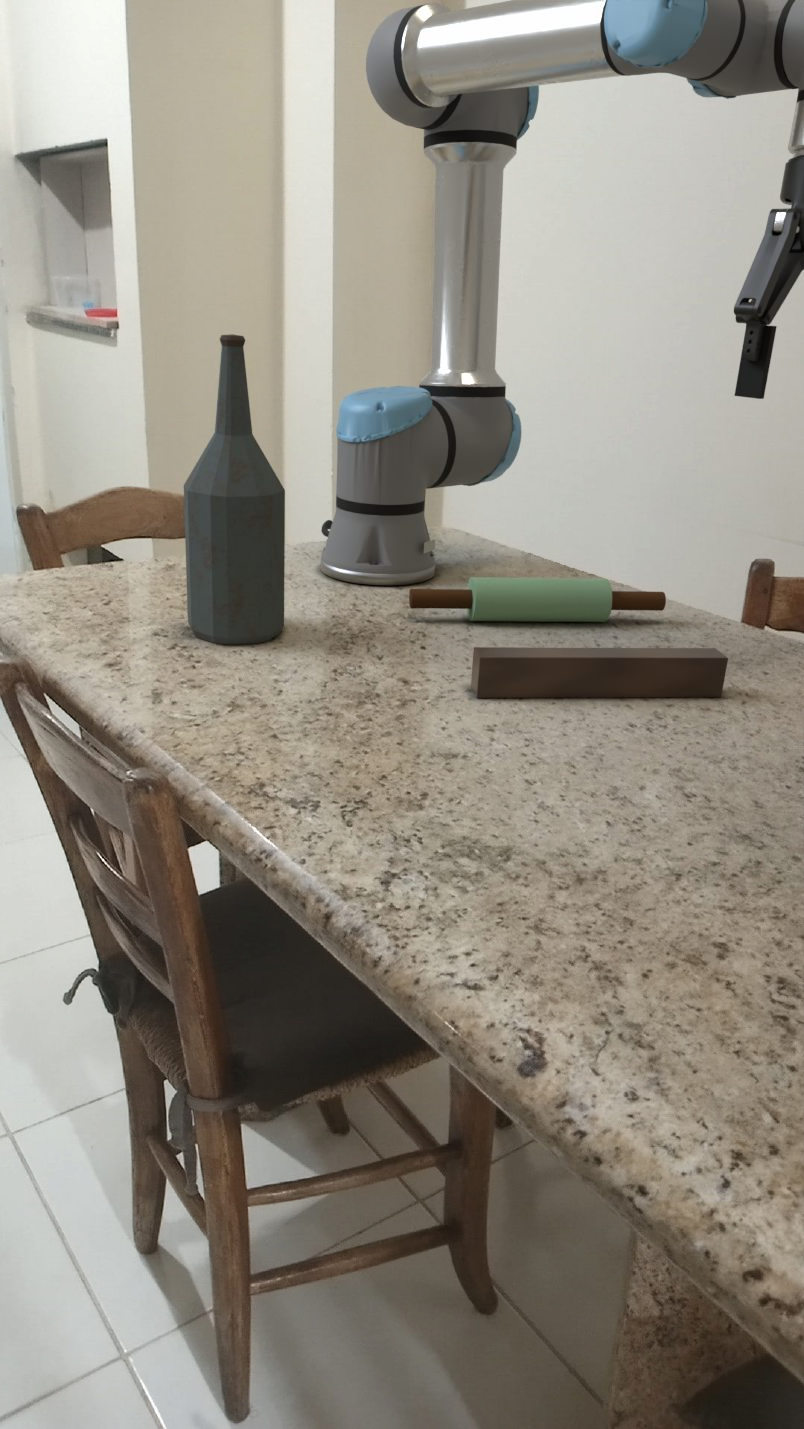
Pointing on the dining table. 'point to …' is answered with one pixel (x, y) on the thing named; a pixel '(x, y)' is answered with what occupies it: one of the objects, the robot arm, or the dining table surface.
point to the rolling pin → (537, 599)
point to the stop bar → (597, 672)
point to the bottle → (234, 523)
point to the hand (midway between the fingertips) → (784, 396)
